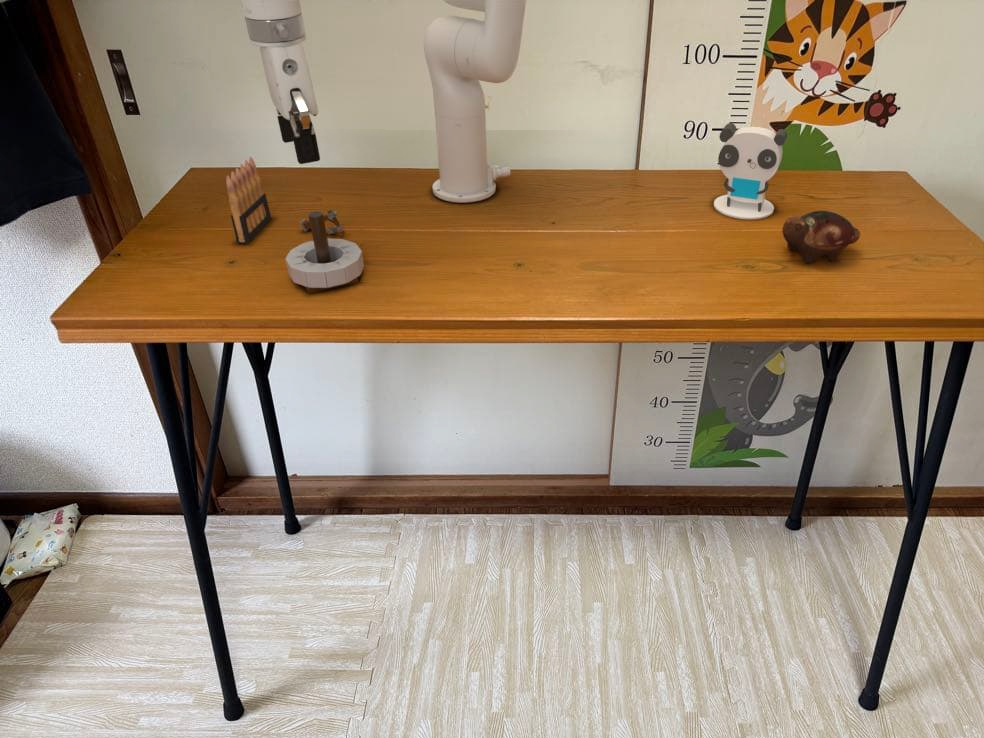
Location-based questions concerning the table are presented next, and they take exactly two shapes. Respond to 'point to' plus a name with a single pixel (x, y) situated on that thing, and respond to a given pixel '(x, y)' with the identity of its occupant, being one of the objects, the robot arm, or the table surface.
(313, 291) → the stand
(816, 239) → the decorative turtle
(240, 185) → the ammunition clip
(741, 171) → the panda figurine
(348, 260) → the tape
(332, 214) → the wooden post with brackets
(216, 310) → the table surface
